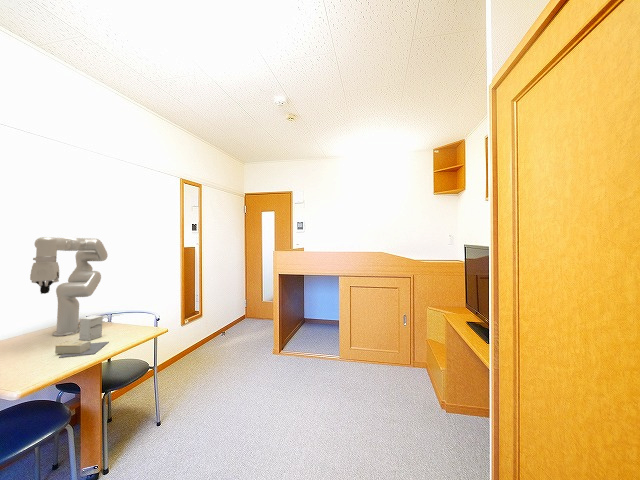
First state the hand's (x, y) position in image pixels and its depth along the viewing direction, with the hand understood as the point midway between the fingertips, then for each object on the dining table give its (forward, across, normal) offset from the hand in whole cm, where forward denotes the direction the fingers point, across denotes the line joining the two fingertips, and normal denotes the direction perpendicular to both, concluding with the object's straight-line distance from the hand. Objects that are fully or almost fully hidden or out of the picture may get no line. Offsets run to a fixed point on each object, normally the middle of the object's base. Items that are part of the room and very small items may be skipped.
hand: (44, 293), depth 133 cm
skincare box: (+27, +14, -12) cm, 32 cm away
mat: (+29, +24, -12) cm, 40 cm away
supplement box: (+29, +18, +7) cm, 35 cm away
